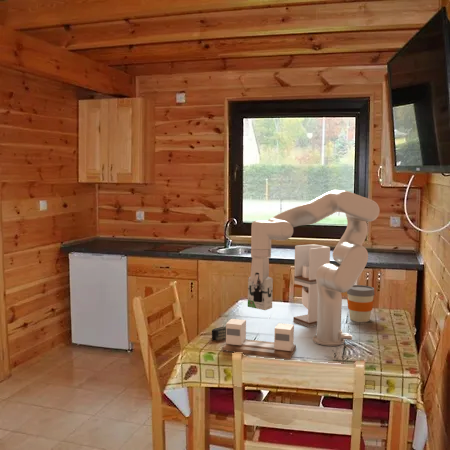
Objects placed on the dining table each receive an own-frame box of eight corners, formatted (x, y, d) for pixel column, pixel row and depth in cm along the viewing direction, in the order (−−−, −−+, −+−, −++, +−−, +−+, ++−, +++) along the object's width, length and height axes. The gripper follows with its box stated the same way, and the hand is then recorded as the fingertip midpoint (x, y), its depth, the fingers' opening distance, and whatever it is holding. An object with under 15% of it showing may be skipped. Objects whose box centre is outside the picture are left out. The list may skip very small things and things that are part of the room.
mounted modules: (293, 345, 200) (293, 324, 200) (289, 351, 194) (290, 330, 193) (231, 338, 208) (231, 318, 207) (225, 343, 201) (225, 323, 200)
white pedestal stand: (312, 317, 246) (313, 244, 243) (327, 323, 238) (330, 247, 234) (293, 321, 240) (295, 245, 237) (308, 327, 231) (310, 248, 228)
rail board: (295, 348, 203) (295, 343, 203) (290, 358, 192) (290, 353, 191) (231, 341, 211) (231, 336, 211) (222, 350, 199) (222, 345, 199)
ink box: (246, 306, 201) (247, 276, 200) (254, 304, 205) (254, 274, 204) (265, 310, 196) (266, 279, 195) (272, 308, 200) (273, 277, 198)
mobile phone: (213, 330, 210) (245, 324, 218) (210, 328, 213) (241, 322, 221) (214, 342, 211) (245, 335, 219) (210, 340, 213) (241, 333, 221)
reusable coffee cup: (340, 318, 246) (341, 287, 245) (357, 314, 254) (358, 283, 252) (361, 324, 236) (363, 291, 235) (379, 320, 244) (380, 288, 242)
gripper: (257, 249, 208) (256, 294, 209) (244, 255, 191) (244, 304, 193) (276, 250, 205) (275, 295, 207) (264, 257, 189) (263, 305, 191)
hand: (260, 299), depth 200 cm, fingers closed on ink box, 6 cm apart
